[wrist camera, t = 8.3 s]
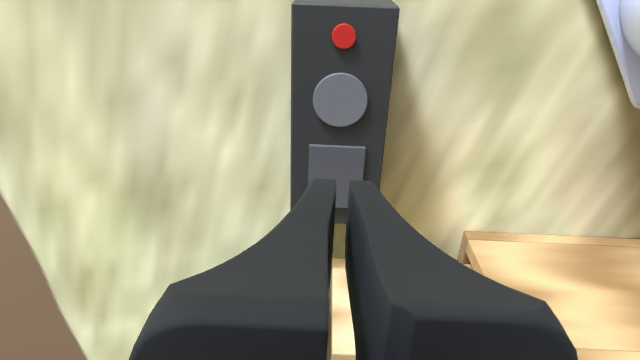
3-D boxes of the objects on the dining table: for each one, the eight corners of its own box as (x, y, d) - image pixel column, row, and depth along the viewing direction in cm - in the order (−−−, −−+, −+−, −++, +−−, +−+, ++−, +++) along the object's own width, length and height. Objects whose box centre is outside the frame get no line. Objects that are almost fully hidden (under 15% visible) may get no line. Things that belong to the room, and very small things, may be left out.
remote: (294, 192, 23) (289, 224, 21) (296, -5, 19) (290, 2, 16) (371, 196, 23) (376, 228, 20) (391, -1, 19) (401, 7, 16)
